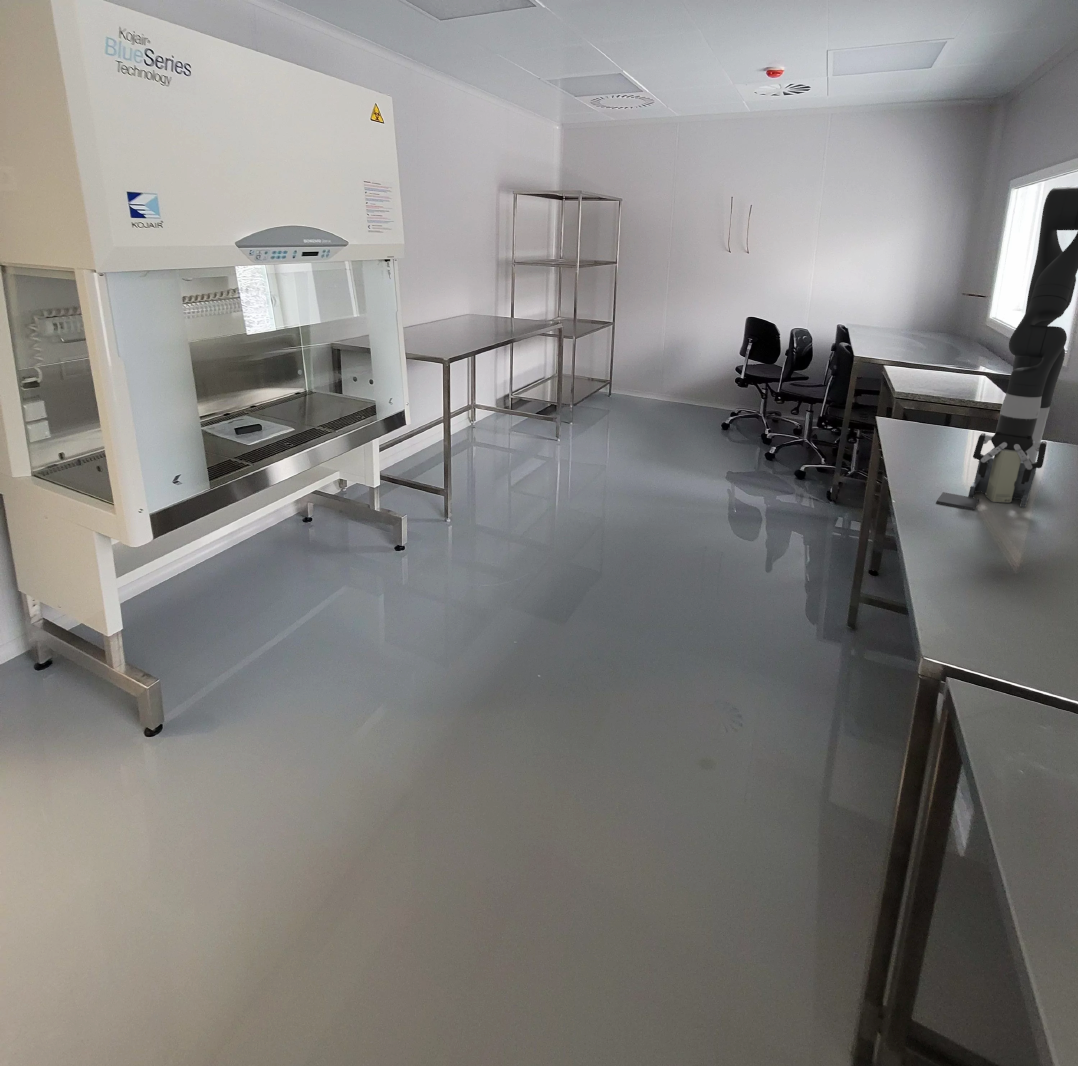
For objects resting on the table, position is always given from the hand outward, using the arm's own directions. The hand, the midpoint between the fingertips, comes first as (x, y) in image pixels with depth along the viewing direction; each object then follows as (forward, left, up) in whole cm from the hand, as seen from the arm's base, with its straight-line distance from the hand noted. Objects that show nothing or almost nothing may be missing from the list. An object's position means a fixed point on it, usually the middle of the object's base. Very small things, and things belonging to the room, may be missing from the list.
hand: (1002, 480), depth 178 cm
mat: (+8, -7, -5) cm, 12 cm away
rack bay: (0, 0, -5) cm, 5 cm away
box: (0, 0, -5) cm, 5 cm away
